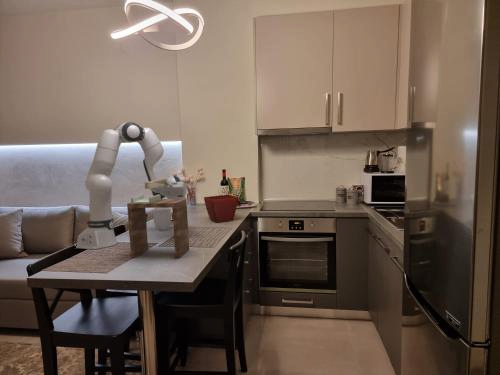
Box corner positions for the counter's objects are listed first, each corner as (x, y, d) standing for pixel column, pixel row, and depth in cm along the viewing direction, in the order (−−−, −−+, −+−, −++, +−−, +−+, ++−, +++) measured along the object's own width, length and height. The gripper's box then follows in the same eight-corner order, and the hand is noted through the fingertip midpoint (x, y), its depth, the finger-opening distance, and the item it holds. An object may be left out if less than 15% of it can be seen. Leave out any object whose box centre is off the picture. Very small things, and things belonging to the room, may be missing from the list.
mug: (172, 225, 234) (171, 206, 232) (180, 228, 225) (179, 208, 224) (151, 229, 224) (150, 209, 223) (158, 232, 216) (157, 211, 214)
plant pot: (204, 219, 250) (203, 196, 248) (229, 216, 258) (228, 194, 256) (213, 224, 233) (211, 199, 231) (239, 221, 241) (238, 197, 239)
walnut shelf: (131, 257, 165) (127, 203, 162) (144, 249, 179) (141, 199, 176) (179, 258, 161) (176, 203, 158) (189, 249, 175) (186, 198, 172)
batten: (145, 188, 171) (144, 182, 170) (163, 184, 192) (162, 178, 192) (150, 188, 170) (150, 182, 170) (168, 184, 192) (168, 178, 191)
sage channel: (131, 203, 164) (130, 198, 164) (141, 199, 175) (141, 194, 174) (151, 202, 162) (150, 197, 162) (160, 199, 173) (160, 194, 173)
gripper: (155, 186, 203) (145, 176, 190) (189, 185, 200) (180, 175, 187) (153, 196, 200) (143, 186, 188) (187, 196, 197) (179, 186, 185)
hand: (162, 181), depth 187 cm, fingers closed on batten, 3 cm apart
